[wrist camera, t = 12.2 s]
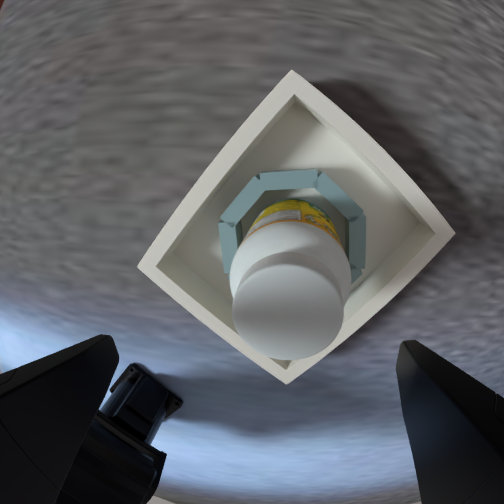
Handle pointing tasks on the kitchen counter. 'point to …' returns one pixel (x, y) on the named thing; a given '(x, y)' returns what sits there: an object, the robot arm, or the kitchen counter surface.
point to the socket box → (303, 187)
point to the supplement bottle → (290, 281)
